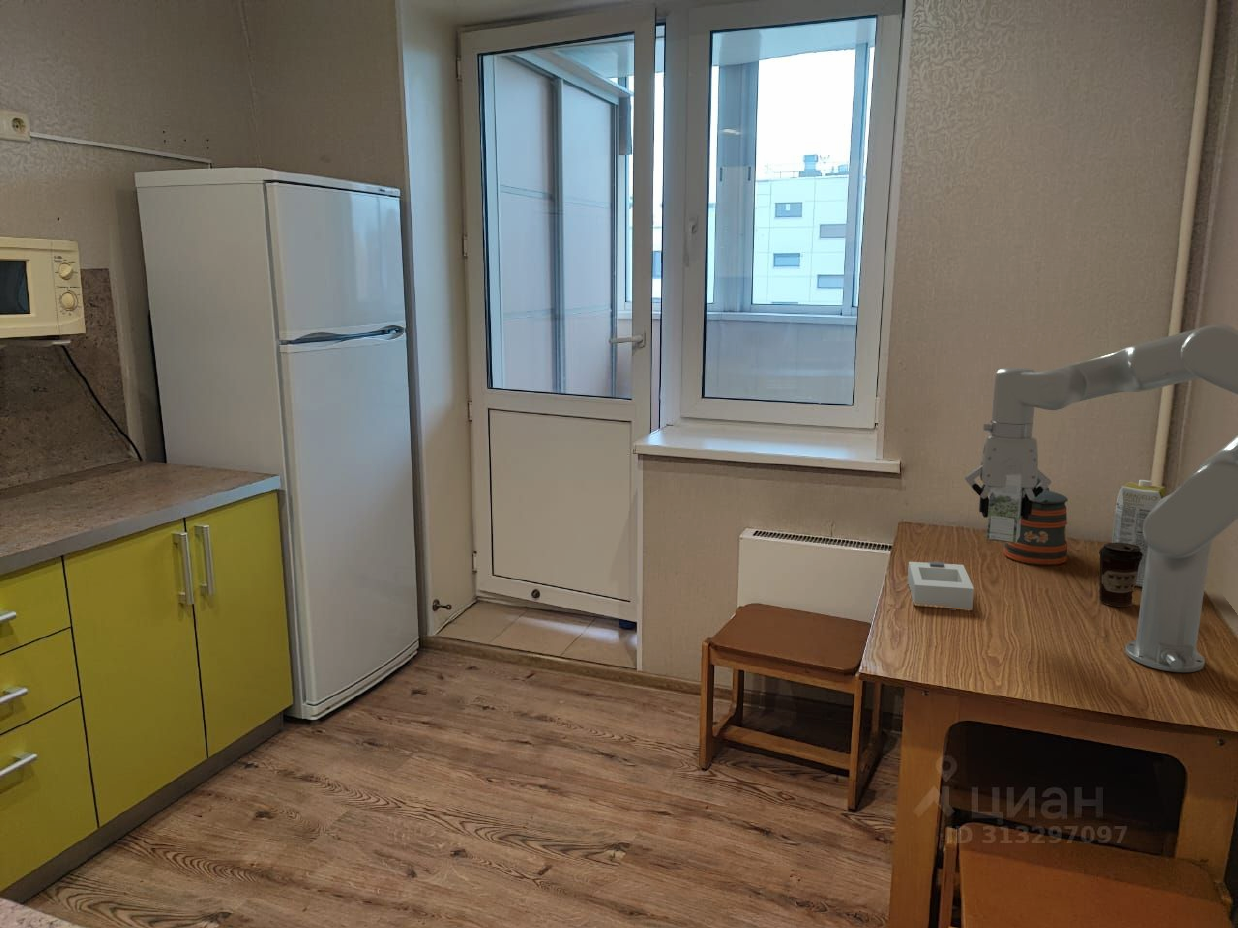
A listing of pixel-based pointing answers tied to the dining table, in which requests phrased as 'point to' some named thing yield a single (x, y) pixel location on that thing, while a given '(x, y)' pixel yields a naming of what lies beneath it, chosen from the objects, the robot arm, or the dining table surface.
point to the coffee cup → (1118, 573)
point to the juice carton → (1135, 516)
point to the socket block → (940, 584)
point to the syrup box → (1005, 510)
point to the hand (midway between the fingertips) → (1004, 516)
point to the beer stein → (1042, 532)
